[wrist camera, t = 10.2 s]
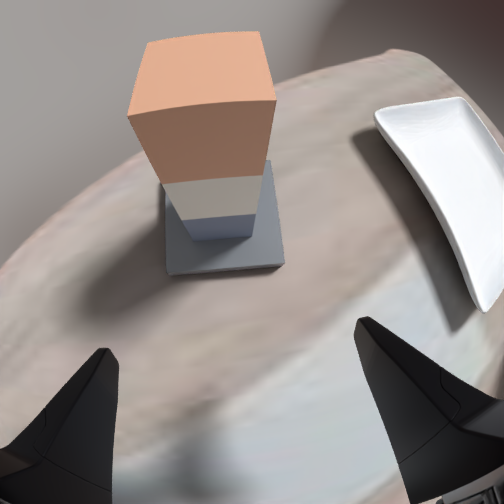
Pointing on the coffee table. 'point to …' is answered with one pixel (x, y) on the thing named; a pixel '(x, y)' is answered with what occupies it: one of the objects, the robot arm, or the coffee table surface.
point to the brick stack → (207, 127)
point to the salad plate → (456, 183)
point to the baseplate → (227, 240)
